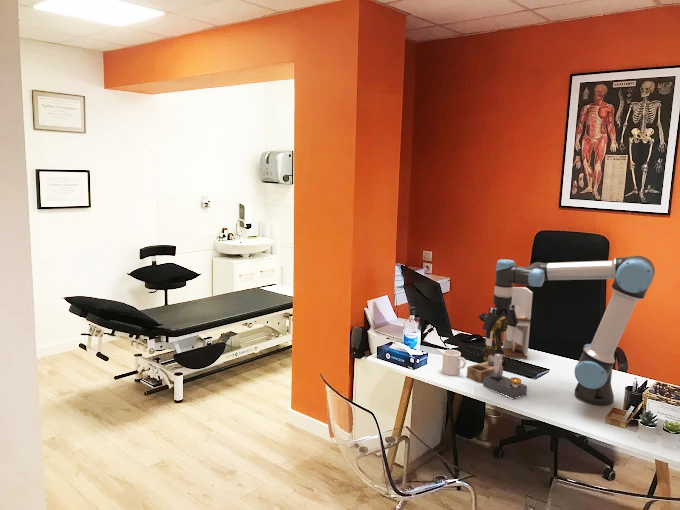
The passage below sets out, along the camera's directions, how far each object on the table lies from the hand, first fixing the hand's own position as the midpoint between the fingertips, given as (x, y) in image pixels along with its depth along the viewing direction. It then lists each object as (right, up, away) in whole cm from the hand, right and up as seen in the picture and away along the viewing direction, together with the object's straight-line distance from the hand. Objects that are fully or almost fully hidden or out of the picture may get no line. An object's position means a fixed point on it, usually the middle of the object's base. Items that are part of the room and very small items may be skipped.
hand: (499, 342), depth 234 cm
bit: (0, -20, +3) cm, 20 cm away
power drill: (+5, -15, +33) cm, 37 cm away
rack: (-3, -18, +14) cm, 23 cm away
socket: (+2, -21, 0) cm, 21 cm away
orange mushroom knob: (+5, -21, -5) cm, 22 cm away
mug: (-16, -18, +17) cm, 29 cm away
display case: (+20, -14, +44) cm, 50 cm away
